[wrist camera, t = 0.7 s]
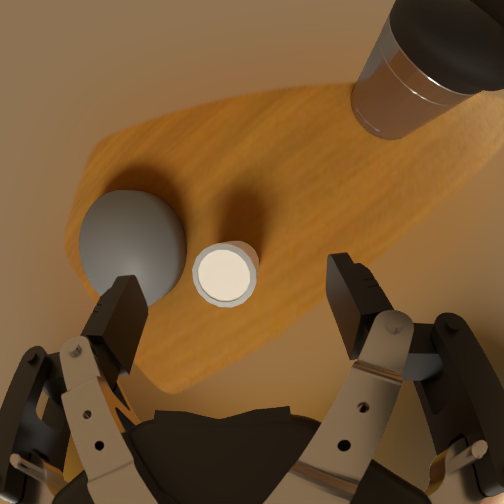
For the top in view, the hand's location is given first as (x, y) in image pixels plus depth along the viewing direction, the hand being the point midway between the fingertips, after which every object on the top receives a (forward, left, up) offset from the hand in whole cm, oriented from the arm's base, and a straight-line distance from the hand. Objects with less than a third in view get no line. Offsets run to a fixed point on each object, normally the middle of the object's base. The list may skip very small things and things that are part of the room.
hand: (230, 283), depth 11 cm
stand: (+16, -11, -23) cm, 30 cm away
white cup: (+6, 0, -23) cm, 24 cm away
